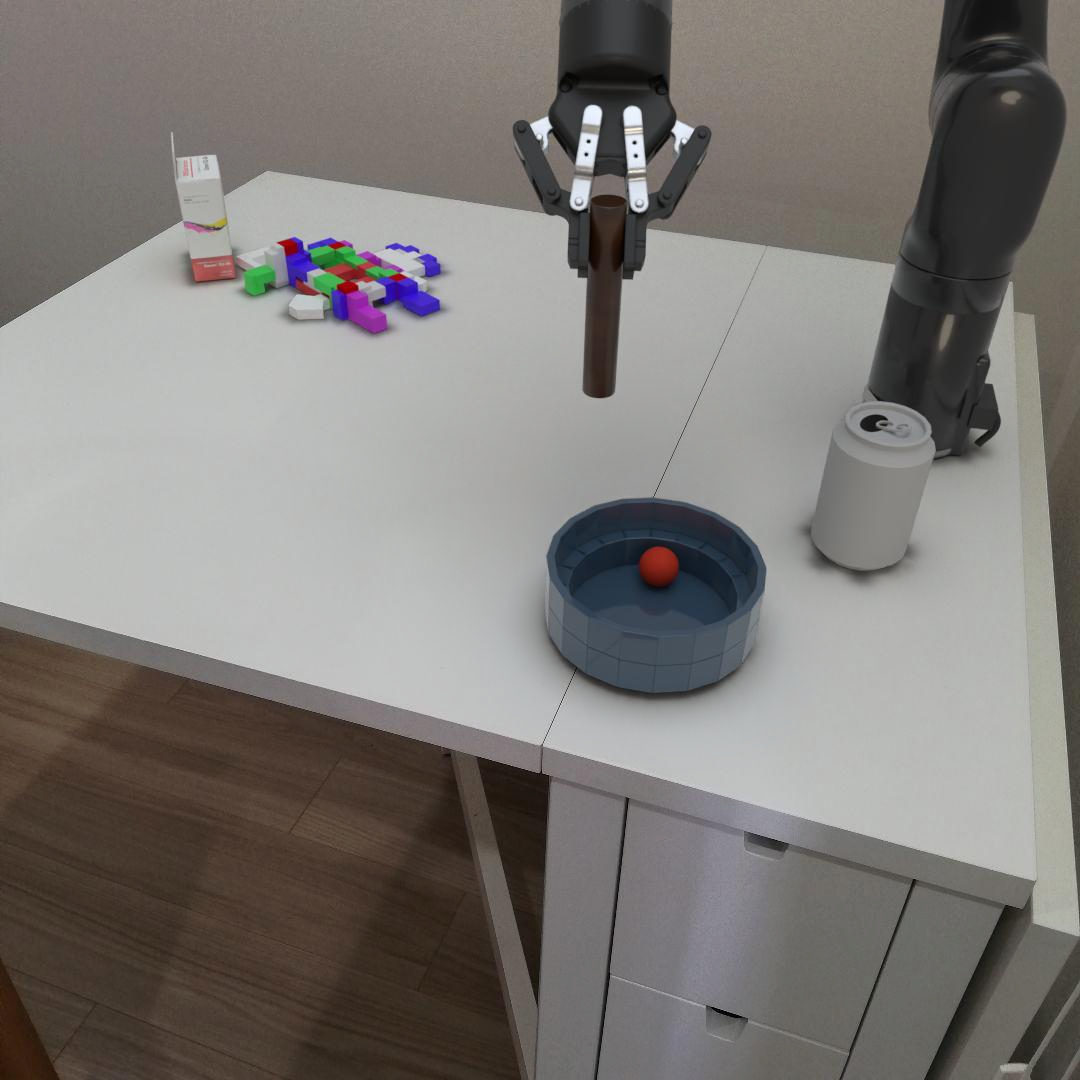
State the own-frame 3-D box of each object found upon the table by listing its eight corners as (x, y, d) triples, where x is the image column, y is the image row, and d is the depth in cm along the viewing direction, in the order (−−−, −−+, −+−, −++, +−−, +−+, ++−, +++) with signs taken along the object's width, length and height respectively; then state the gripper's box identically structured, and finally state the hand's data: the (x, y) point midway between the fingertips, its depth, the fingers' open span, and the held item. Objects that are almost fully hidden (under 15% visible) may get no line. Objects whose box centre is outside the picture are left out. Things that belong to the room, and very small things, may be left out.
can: (835, 508, 89) (864, 384, 82) (919, 544, 86) (957, 417, 78) (791, 550, 85) (818, 422, 77) (878, 590, 81) (915, 460, 74)
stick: (617, 384, 78) (630, 195, 69) (612, 400, 76) (624, 209, 67) (585, 380, 78) (594, 192, 69) (579, 396, 76) (587, 205, 67)
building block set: (487, 291, 121) (486, 254, 119) (338, 347, 110) (334, 308, 107) (358, 227, 135) (355, 193, 133) (215, 272, 124) (208, 235, 121)
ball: (679, 572, 81) (683, 541, 79) (674, 597, 79) (678, 566, 77) (640, 566, 82) (643, 536, 80) (634, 591, 79) (637, 560, 77)
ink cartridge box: (238, 278, 123) (217, 150, 114) (194, 283, 122) (169, 154, 113) (232, 250, 129) (211, 126, 120) (190, 254, 128) (166, 129, 119)
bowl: (759, 575, 82) (771, 513, 78) (746, 718, 70) (759, 653, 67) (567, 546, 85) (570, 485, 81) (524, 679, 73) (525, 615, 69)
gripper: (509, -11, 68) (495, 248, 66) (727, -6, 67) (720, 256, 65) (515, 56, 75) (503, 291, 73) (711, 61, 75) (705, 298, 73)
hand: (606, 273), depth 69 cm, fingers closed on stick, 2 cm apart
